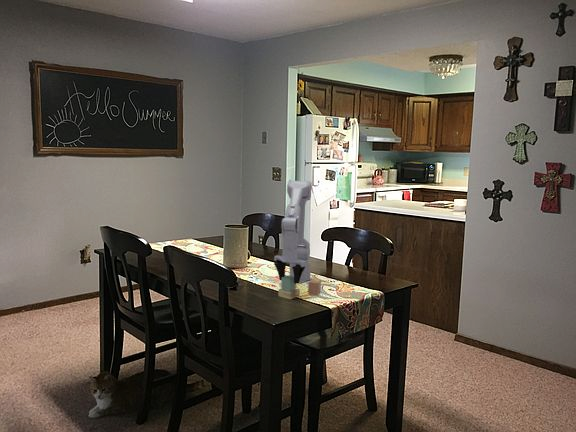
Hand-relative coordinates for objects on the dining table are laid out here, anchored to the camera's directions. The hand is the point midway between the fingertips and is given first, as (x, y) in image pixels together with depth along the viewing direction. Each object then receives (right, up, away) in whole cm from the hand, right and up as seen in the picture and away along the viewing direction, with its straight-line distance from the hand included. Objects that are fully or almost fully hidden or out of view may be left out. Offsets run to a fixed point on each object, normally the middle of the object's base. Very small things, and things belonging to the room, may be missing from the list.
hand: (289, 281), depth 201 cm
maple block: (0, -6, +1) cm, 6 cm away
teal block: (0, -3, 0) cm, 3 cm away
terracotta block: (+10, -6, +5) cm, 13 cm away
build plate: (-23, -5, +11) cm, 26 cm away
